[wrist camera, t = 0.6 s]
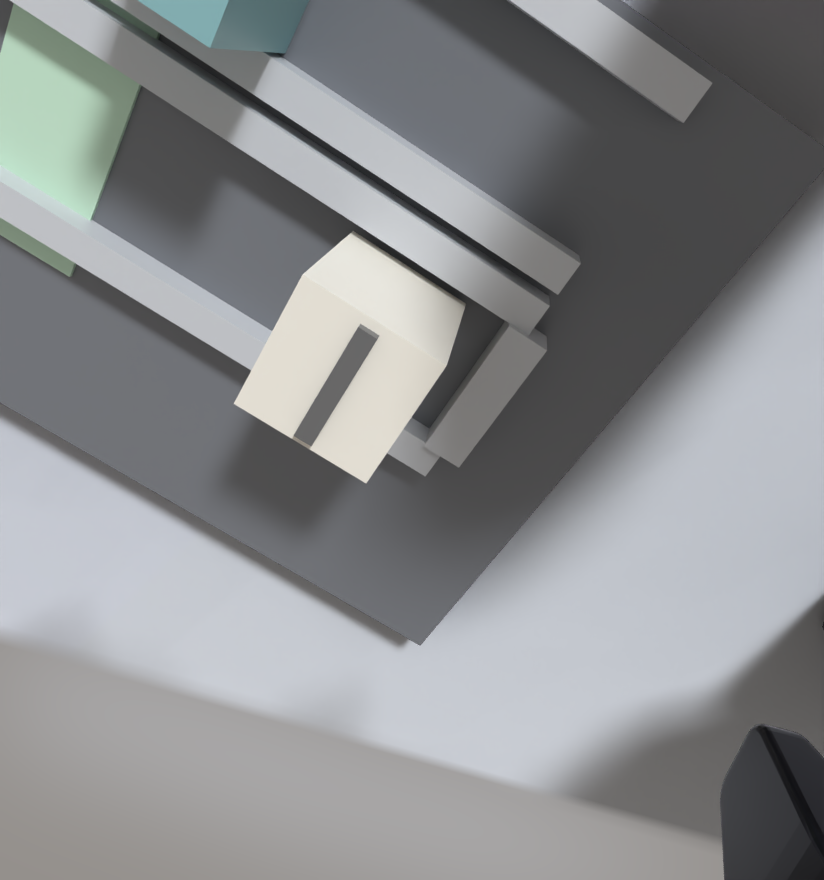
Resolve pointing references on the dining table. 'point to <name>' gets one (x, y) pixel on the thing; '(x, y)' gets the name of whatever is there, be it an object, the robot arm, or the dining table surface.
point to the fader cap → (353, 355)
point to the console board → (379, 221)
